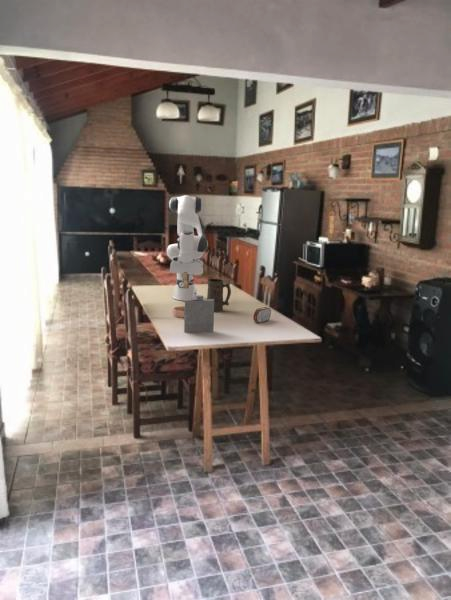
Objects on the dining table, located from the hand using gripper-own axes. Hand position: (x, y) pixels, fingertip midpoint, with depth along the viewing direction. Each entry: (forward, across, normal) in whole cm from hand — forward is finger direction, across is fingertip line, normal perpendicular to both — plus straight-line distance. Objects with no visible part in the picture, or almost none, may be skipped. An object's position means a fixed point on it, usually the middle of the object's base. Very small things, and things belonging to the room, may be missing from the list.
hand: (186, 281), depth 300 cm
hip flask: (+21, -20, +33) cm, 44 cm away
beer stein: (+21, -14, -21) cm, 33 cm away
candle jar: (+21, +1, 0) cm, 21 cm away
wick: (+4, 0, 0) cm, 4 cm away
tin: (+21, -47, -3) cm, 52 cm away
